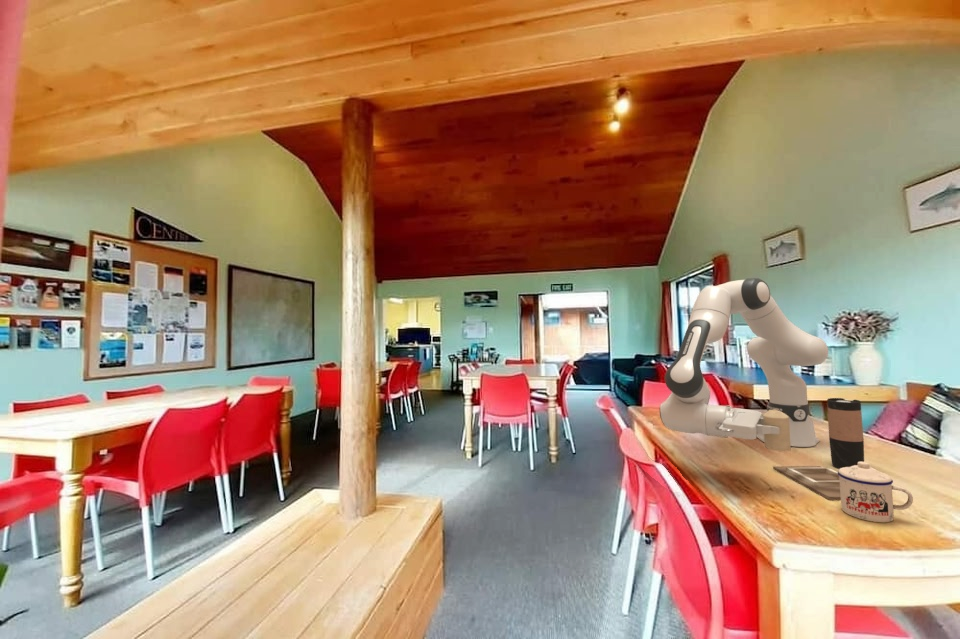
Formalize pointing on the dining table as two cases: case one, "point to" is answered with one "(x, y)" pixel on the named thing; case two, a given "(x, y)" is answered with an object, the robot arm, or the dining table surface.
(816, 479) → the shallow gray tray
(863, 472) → the teacup with lid
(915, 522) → the dining table surface
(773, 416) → the candle
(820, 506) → the dining table surface
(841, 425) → the travel mug
